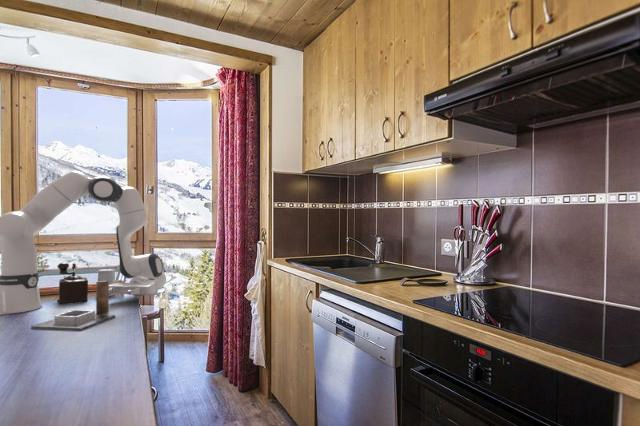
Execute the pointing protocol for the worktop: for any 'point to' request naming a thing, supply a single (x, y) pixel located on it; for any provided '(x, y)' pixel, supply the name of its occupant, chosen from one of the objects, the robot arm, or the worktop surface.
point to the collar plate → (74, 321)
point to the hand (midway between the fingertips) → (118, 292)
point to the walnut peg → (102, 297)
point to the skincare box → (107, 276)
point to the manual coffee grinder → (72, 286)
